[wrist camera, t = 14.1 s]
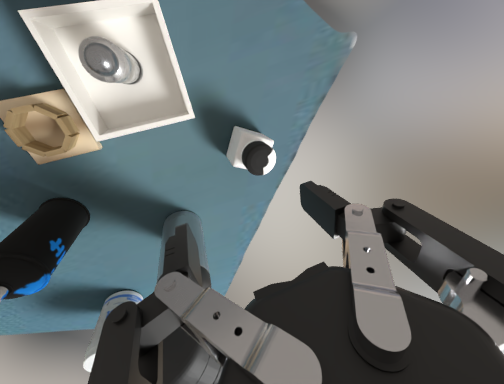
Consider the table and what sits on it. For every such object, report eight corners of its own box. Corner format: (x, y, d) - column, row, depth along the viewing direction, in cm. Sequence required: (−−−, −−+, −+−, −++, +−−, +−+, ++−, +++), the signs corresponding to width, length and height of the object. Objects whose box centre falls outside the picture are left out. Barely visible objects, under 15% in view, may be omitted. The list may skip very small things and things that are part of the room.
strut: (139, 52, 32) (115, 33, 20) (145, 84, 34) (127, 84, 23) (106, 50, 31) (61, 28, 19) (115, 83, 33) (79, 82, 21)
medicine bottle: (225, 156, 46) (238, 176, 35) (233, 125, 43) (250, 137, 33) (253, 162, 48) (272, 182, 38) (262, 133, 46) (285, 147, 36)
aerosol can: (32, 222, 39) (-77, 323, 23) (48, 190, 38) (-57, 273, 21) (80, 235, 44) (19, 329, 27) (97, 207, 42) (42, 288, 25)
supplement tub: (142, 285, 55) (131, 343, 43) (145, 307, 59) (137, 365, 47) (100, 292, 52) (76, 357, 40) (107, 315, 56) (87, 379, 44)
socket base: (102, 147, 37) (94, 154, 33) (43, 161, 35) (27, 171, 32) (67, 88, 32) (53, 88, 28) (-4, 102, 30) (-30, 104, 26)
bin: (193, 113, 39) (195, 117, 34) (108, 134, 37) (96, 141, 32) (159, 8, 31) (155, -7, 26) (46, 23, 28) (17, 10, 23)
